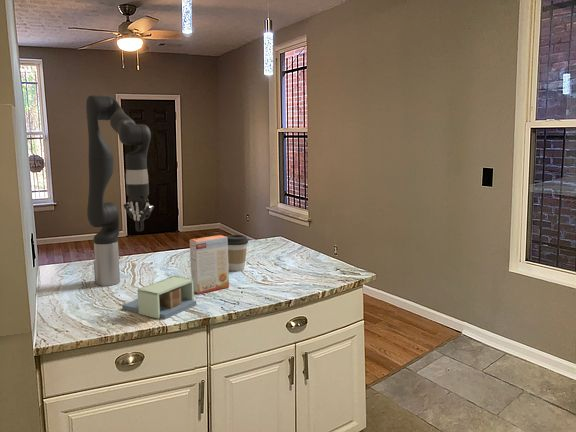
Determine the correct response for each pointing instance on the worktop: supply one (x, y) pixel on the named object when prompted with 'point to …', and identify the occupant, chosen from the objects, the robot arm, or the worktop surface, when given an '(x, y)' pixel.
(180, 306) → the base
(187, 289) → the cover
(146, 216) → the robot arm
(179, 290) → the wooden box
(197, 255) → the cracker box
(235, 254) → the coffee cup
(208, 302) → the worktop surface
